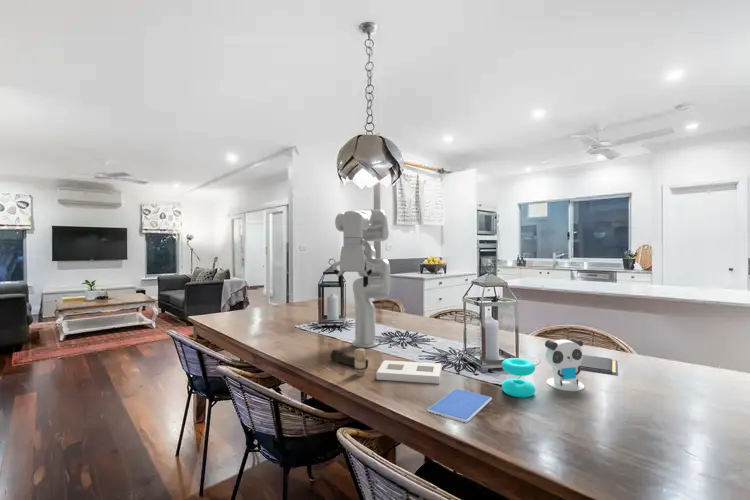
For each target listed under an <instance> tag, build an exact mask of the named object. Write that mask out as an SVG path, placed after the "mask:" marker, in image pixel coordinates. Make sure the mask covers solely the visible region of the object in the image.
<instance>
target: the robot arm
mask: <svg viewBox="0 0 750 500" xmlns="http://www.w3.org/2000/svg"><path fill="white" fill-rule="evenodd" d="M386 214H387V213H386V212H385V211H384V210H383V209H379V208H378V209H377V208H375V209H373V208H372V209H371V208H370V209H369V208H367V209H366V208H365V209H360V210H347V211H345V212H340V213H338V214H337V215H336V217H335V221H334V224H335V228H336V229H337V231H339V232H342V235H343V238H342V239H343V241H342V242H343V246H341V249H340V257H339V261H338V262H335V263H334V264H332V265H331V268H332V270H333V272H334V274H335V275H336V276H337V277H338V279H337V280H338V282H337V283H338V285H339V288H343V287H344V284H345V283H344V276H343V275H344V274H345V272H347V273H348V272H349V273H351V272H352V273H353V272H354V273H355V272H356V273H357V274H358V276H359V278H356V279H355V280H354V281H353V283H352V292H353V299H354V327H355V328H354V330H355V333H354V335H355V337H354V338H355V340H353V341H352V342H351V343H352V346H353V347H356V348H359V349H366V348H374V347H377V346H379V344H380V343H379V340H378V339H376V306H375V304H374V303H373V302H372V300H371V299H386V298H388V297H389V295H390V293H391V292H390V291H391V265H390V261H389V260H388V259H387V258H379V257H378V258H377V256H376V255H377V252H376V249H375V248H374V246H373V245H372V244H370V242H385V241H387V240H388V237H389V232H390V231H389V225H388V217H387V215H386ZM338 267H339V269H338Z"/></svg>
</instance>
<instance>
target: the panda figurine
mask: <svg viewBox="0 0 750 500" xmlns="http://www.w3.org/2000/svg"><path fill="white" fill-rule="evenodd" d="M544 345H545V348H547V349H546V352H545V359H546V361H547V363H548V364H549V365H550V366H552V377H549V378H548V379H546V384H547V385H548V386H549V387H552V388H553V389H557V390H561V391H566V392H567V391H568V392H580V391H583V390H584V389H585V385H584V384H583V383H582V382H581V381H579V374H580V373H581V369H580V367H578V366H579V365H580V364H581V362H582V359H583V355H584V353H583V351H582V347H583V346H584V342H583V341H582V340H580V339H577V338H574V337H572V338H571V339H570V340H569V339H557V340H554V341H553V340H550V339H547V340H546V341H545V343H544Z"/></svg>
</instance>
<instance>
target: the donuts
mask: <svg viewBox="0 0 750 500" xmlns="http://www.w3.org/2000/svg"><path fill="white" fill-rule="evenodd" d="M501 368H502V370H503V371H504V372H506V373H508V374H509V375H514V376H518V377H521V376H522V377H526V376H529V375H532V374H533V373H535V370H536V366H535V364H534V363H533V361H530V360H528V359H525V358H521V357H520V358H518V357H510V358H506V359H504V360H503V361H502V362H501ZM501 389H502V391H503V392H504V393H505V394H507V395H509V396H511V397H513V398H514V397H515V398H522V399H524V398H530V397H533V395H535V392H536V388H535V385H534V384H533V382H532V383H531V381H528V380H526V379H522V378H508V379H505V380H504V381H503V382H502V384H501Z"/></svg>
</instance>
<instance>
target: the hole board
mask: <svg viewBox="0 0 750 500" xmlns="http://www.w3.org/2000/svg"><path fill="white" fill-rule="evenodd" d="M441 377H442V363H441V362H440V363H439V362H438V363H437V362H436V363H435V362H419V361H418V362H417V361H402V360H383V361H382V363H381V364H380V366H379V367H378V369H377V371H376V380H380V381H381V380H382V381H392V382H393V381H394V382H395V381H396V382H410V383H423V384H424V383H425V384H437V385H438V384H440V382H441Z"/></svg>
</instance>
